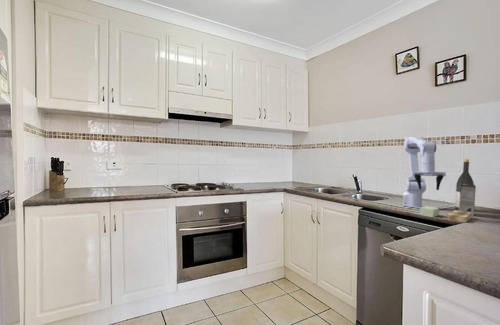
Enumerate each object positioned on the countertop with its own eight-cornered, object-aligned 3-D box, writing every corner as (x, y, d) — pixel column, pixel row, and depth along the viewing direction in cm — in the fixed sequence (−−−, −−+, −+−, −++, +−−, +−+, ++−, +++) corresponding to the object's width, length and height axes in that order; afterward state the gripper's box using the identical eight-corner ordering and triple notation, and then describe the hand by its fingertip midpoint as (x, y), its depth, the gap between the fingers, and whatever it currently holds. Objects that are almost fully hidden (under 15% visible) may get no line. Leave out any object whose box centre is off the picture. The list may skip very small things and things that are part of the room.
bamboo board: (447, 219, 127) (447, 214, 127) (454, 214, 137) (454, 210, 137) (465, 222, 122) (465, 217, 122) (471, 217, 132) (471, 212, 132)
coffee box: (458, 211, 146) (460, 183, 146) (473, 213, 142) (475, 184, 142) (458, 214, 139) (460, 184, 139) (474, 216, 135) (476, 185, 135)
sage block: (419, 215, 136) (420, 207, 136) (425, 213, 141) (426, 206, 141) (433, 217, 131) (433, 209, 131) (438, 215, 136) (439, 208, 136)
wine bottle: (456, 210, 150) (459, 159, 149) (453, 207, 157) (456, 159, 156) (474, 212, 146) (477, 159, 145) (470, 209, 153) (473, 159, 152)
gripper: (413, 162, 137) (413, 188, 135) (446, 162, 130) (447, 189, 128) (411, 164, 143) (411, 189, 141) (443, 165, 137) (444, 190, 135)
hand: (428, 189), depth 135 cm, fingers open, 7 cm apart
